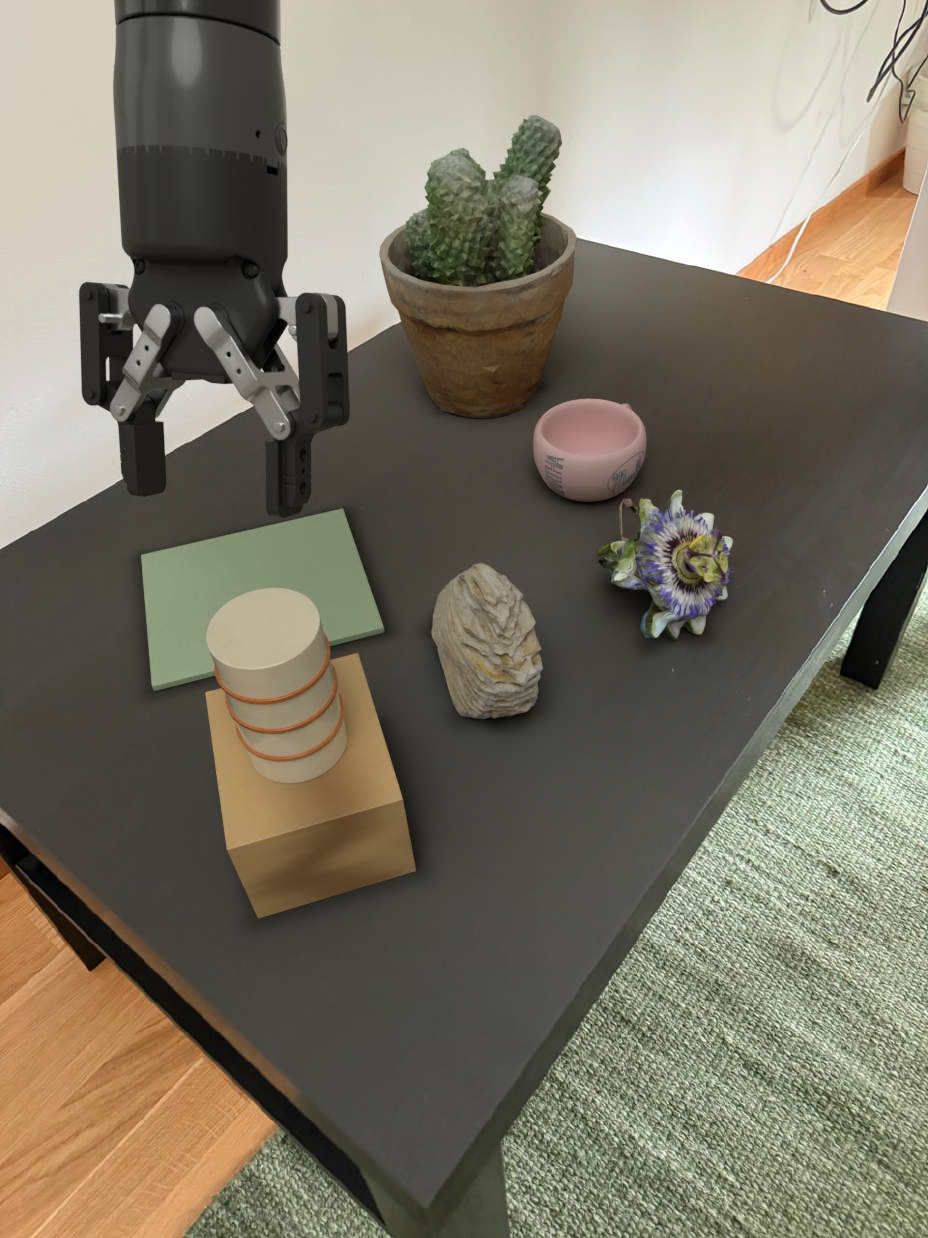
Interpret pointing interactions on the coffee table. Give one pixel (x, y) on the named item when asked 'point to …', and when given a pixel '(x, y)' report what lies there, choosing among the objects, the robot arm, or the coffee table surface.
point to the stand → (313, 810)
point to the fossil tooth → (487, 644)
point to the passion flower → (671, 565)
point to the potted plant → (483, 276)
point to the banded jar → (279, 683)
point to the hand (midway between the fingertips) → (214, 504)
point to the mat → (252, 588)
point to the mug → (589, 448)
